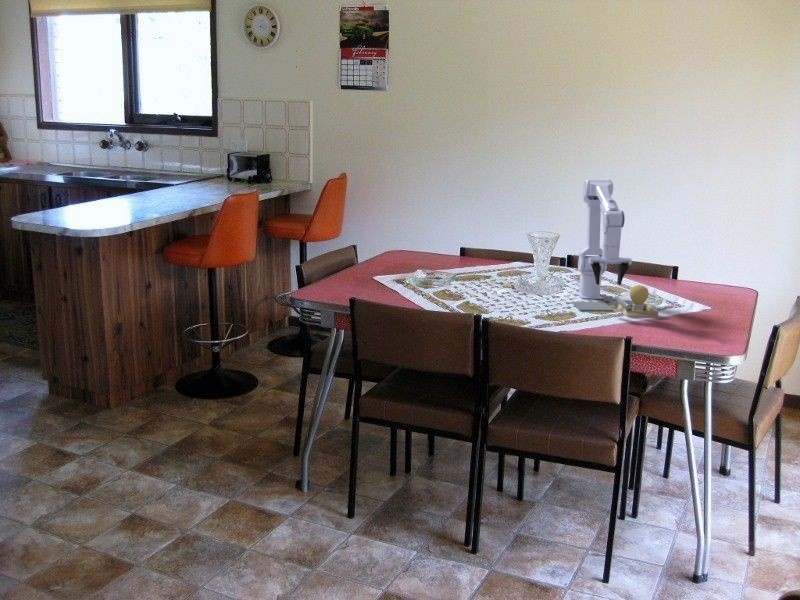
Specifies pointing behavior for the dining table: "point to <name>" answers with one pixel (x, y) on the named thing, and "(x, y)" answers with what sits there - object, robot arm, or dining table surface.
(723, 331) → the dining table surface
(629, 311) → the square wooden frame
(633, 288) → the light bulb
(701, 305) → the dining table surface
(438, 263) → the dining table surface
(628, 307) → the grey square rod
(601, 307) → the gray square panel
